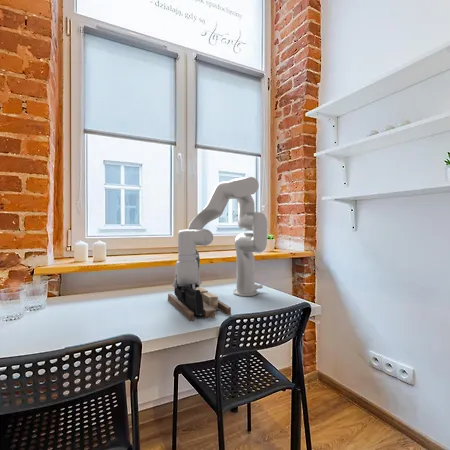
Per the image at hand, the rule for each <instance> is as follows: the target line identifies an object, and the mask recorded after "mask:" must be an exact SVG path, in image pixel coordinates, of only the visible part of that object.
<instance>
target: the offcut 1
mask: <svg viewBox="0 0 450 450" xmlns="http://www.w3.org/2000/svg"><path fill="white" fill-rule="evenodd" d="M195 290H200V293H201V295H202V293H208V292H209V290H207V289H206V288H204V287H202V286H199V287H197V288H196V289H195Z"/></svg>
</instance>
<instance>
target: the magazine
mask: <svg viewBox="0 0 450 450" xmlns="http://www.w3.org/2000/svg"><path fill="white" fill-rule="evenodd" d="M177 285H178V284H177ZM178 286H180V285H178ZM184 292H185V301H183V300H182V299H181V298H180V290H179V289H178V288H175V287H174V293H173V294H174V296H175V297H176V298H177V299H178V300H179V301H180V302H182V303H183V304H184V305H185V306H186V307H188V308H189V309H190V310H191V311H192V312H193V313H194V315H196V316H202V314H204V307H203V298H202V295H201V293H200V290H194V289H192V288H190V287H189V286H188V285H184Z"/></svg>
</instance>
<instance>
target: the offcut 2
mask: <svg viewBox="0 0 450 450" xmlns="http://www.w3.org/2000/svg"><path fill="white" fill-rule="evenodd" d="M202 298H203V302H205V303H206V304H208V305H209V306H210V307H212V308H213V309H215V311H218V310H219V309H218V300H219V299H218V295H216V294H214V293H212V292H211V291H210V292H209V291H208V293H202Z"/></svg>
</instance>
